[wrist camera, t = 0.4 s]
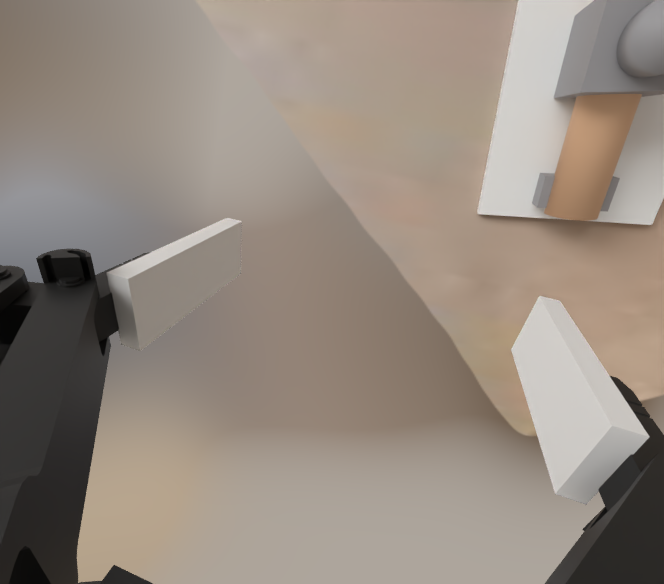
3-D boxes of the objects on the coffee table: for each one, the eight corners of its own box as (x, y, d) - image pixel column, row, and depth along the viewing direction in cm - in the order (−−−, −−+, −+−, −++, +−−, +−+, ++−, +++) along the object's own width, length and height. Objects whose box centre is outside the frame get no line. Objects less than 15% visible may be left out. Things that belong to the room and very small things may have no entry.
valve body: (549, -162, 25) (590, -268, 18) (834, -216, 21) (1022, -378, 14) (477, 212, 38) (485, 231, 31) (646, 222, 34) (698, 247, 27)
